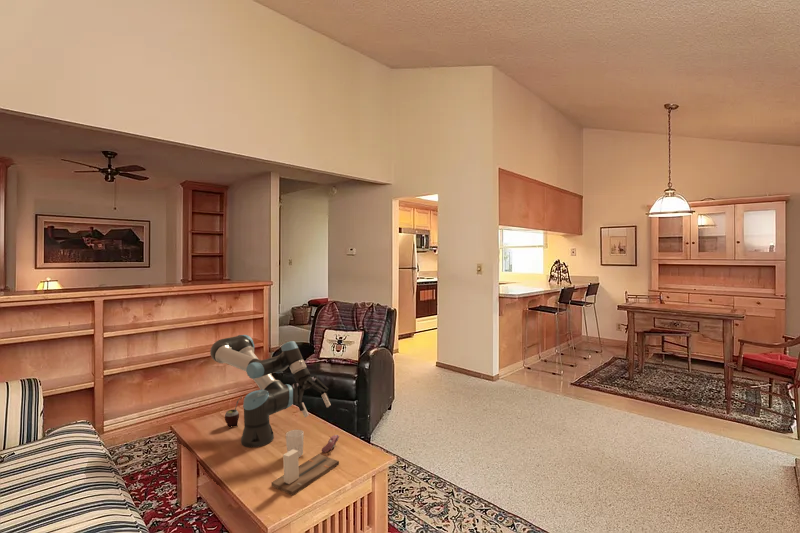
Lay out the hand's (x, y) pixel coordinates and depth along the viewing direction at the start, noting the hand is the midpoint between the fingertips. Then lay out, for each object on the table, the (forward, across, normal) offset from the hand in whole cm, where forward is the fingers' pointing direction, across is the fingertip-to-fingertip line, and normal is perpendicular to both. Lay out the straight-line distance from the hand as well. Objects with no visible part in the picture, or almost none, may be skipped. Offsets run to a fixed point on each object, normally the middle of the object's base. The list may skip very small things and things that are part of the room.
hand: (318, 411), depth 192 cm
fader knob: (+20, -29, -6) cm, 36 cm away
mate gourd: (-18, -13, +54) cm, 59 cm away
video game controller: (+18, 0, +3) cm, 18 cm away
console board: (+22, -21, -4) cm, 31 cm away
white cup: (+12, -13, +10) cm, 21 cm away
